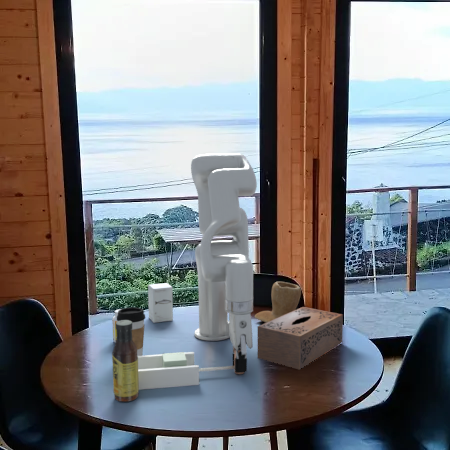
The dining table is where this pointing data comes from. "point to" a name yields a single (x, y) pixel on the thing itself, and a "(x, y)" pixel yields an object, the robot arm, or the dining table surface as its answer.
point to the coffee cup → (134, 325)
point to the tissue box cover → (299, 336)
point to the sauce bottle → (125, 363)
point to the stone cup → (281, 301)
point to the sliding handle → (180, 360)
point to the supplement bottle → (115, 325)
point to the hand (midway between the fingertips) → (239, 368)
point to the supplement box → (160, 302)
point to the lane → (166, 372)
